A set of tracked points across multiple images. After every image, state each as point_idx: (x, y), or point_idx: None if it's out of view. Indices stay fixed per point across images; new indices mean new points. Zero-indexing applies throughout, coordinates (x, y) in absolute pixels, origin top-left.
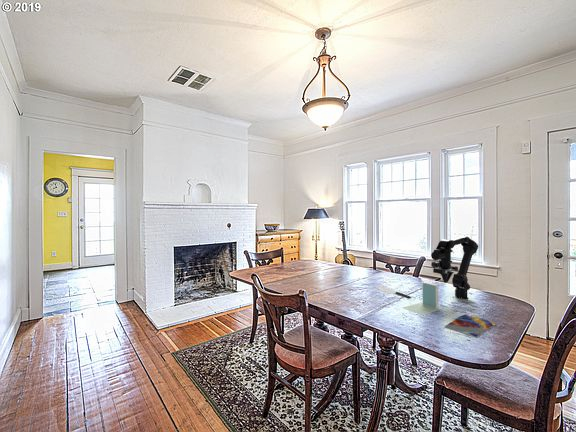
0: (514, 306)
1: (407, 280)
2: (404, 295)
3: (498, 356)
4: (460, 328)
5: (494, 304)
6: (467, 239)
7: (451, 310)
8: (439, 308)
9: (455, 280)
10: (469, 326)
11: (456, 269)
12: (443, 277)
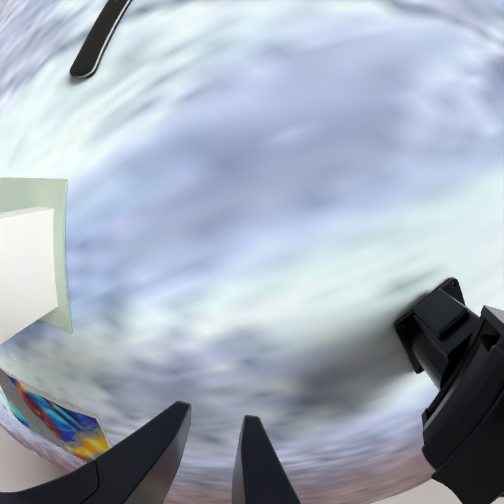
0: (391, 483)
1: None
2: (90, 31)
3: (16, 437)
4: (16, 398)
5: (379, 459)
6: None
7: (92, 367)
8: (55, 315)
9: (486, 407)
10: (40, 419)
11: None
12: (95, 485)
